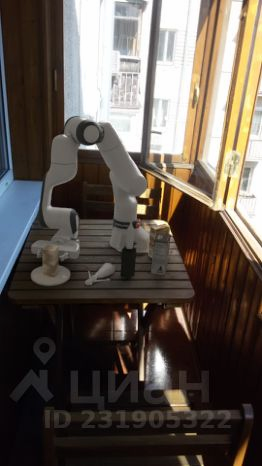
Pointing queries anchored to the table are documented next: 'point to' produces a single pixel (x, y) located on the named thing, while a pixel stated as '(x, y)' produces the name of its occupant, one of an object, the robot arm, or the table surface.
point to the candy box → (153, 231)
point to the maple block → (50, 260)
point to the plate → (50, 281)
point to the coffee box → (160, 253)
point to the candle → (128, 255)
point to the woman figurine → (101, 273)
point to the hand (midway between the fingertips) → (49, 257)
